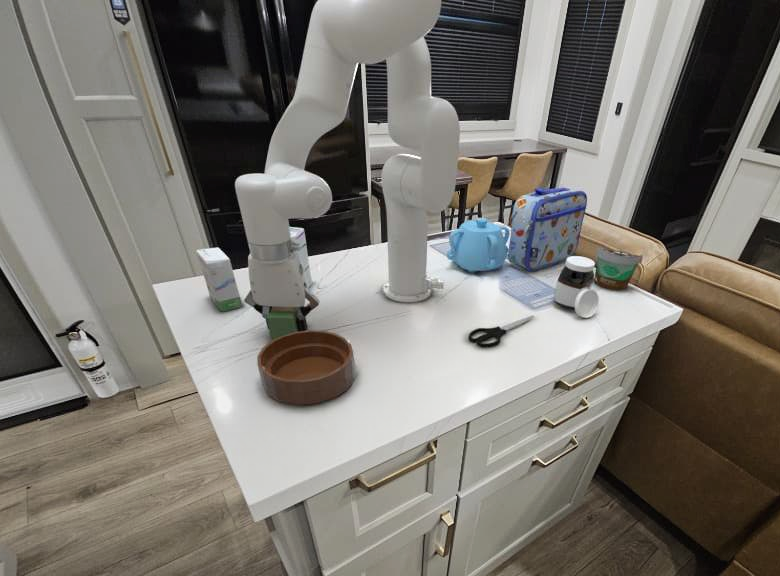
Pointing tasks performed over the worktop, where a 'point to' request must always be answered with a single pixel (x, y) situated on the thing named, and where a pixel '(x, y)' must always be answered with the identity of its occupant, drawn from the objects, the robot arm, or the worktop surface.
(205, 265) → the ink box
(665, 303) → the worktop surface
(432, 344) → the worktop surface
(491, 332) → the scissors
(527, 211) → the lunch box
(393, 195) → the robot arm
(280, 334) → the package
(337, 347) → the bowl
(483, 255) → the decorative pot
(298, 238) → the syrup box
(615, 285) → the food container
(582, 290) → the spread jar
